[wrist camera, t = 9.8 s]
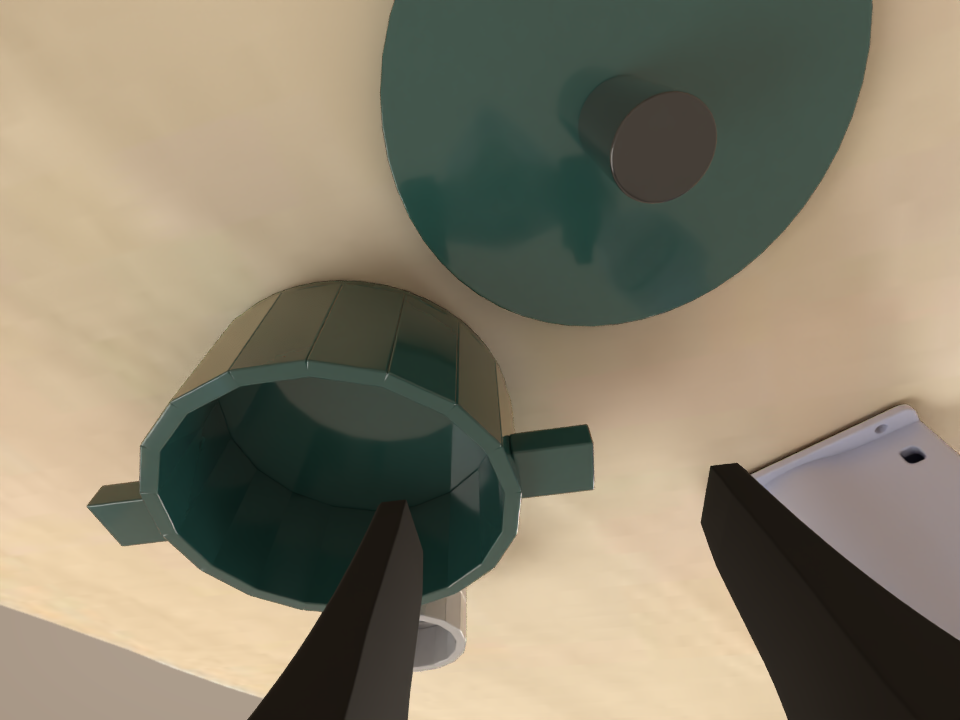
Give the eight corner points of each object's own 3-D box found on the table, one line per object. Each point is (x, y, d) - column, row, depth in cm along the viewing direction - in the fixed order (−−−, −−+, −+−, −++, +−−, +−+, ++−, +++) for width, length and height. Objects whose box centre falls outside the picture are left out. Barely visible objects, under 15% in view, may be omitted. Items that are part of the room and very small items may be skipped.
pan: (82, 317, 19) (-36, 408, 14) (562, 244, 18) (595, 319, 13) (227, 529, 26) (178, 634, 22) (577, 487, 25) (601, 589, 20)
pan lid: (321, -147, 12) (244, -238, 8) (917, -271, 11) (1191, -448, 7) (435, 335, 20) (426, 420, 16) (794, 284, 19) (888, 360, 15)
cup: (420, 518, 26) (413, 601, 22) (485, 565, 28) (488, 648, 25) (348, 559, 28) (330, 642, 24) (415, 600, 30) (407, 682, 26)
